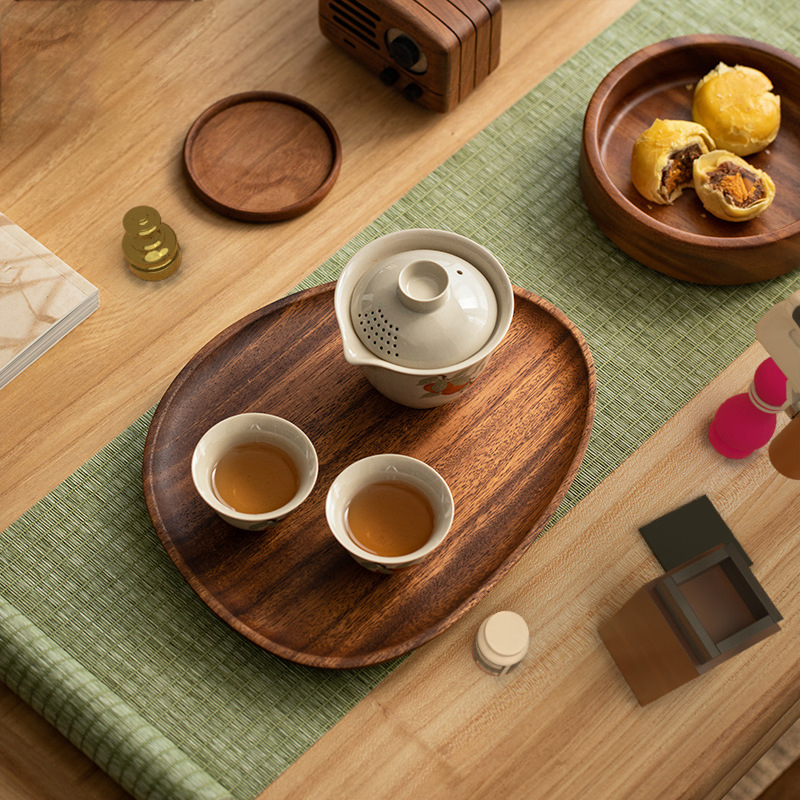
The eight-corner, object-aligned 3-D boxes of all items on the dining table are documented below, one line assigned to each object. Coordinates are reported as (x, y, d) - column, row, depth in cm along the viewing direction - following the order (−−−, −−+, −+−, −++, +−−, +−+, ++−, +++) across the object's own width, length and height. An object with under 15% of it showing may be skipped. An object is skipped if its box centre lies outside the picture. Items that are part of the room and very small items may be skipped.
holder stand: (664, 594, 110) (733, 533, 89) (711, 668, 106) (795, 622, 85) (596, 630, 107) (651, 576, 87) (642, 707, 104) (710, 669, 83)
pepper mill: (770, 435, 120) (842, 361, 102) (741, 474, 117) (809, 404, 99) (723, 402, 122) (785, 322, 104) (693, 439, 119) (752, 364, 101)
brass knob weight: (160, 229, 131) (145, 183, 122) (193, 261, 128) (180, 216, 120) (117, 259, 128) (99, 213, 119) (150, 291, 126) (134, 248, 117)
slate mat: (704, 495, 116) (705, 494, 115) (752, 565, 112) (753, 563, 111) (637, 529, 113) (639, 527, 113) (684, 601, 109) (686, 600, 109)
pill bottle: (512, 621, 108) (525, 600, 99) (527, 670, 105) (541, 652, 96) (465, 633, 107) (474, 612, 98) (478, 682, 104) (489, 665, 95)
